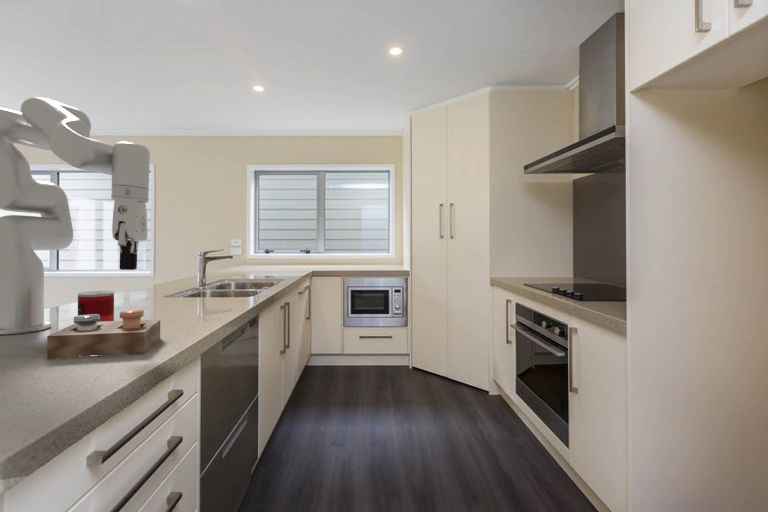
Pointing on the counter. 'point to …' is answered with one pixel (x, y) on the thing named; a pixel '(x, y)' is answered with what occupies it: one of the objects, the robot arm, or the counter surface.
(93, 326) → the grey plug
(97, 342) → the socket block
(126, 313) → the terracotta plug
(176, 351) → the counter surface
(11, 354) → the counter surface
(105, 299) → the canned food
